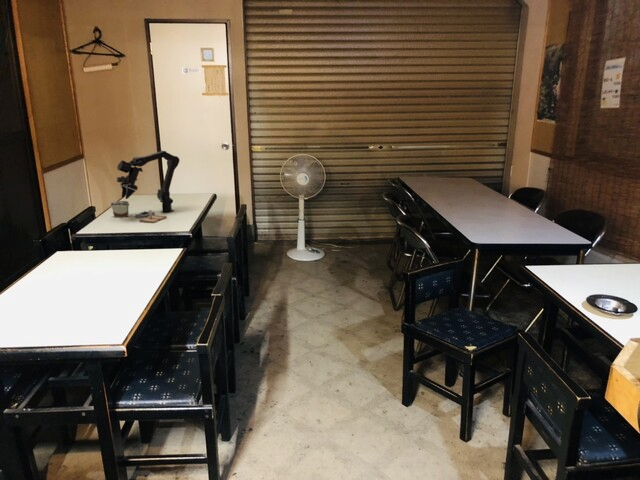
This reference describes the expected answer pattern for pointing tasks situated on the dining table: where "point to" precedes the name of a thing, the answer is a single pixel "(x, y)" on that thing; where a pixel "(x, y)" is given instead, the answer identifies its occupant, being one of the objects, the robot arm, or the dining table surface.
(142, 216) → the steel link
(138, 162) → the robot arm
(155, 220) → the keeper board
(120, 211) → the food container
